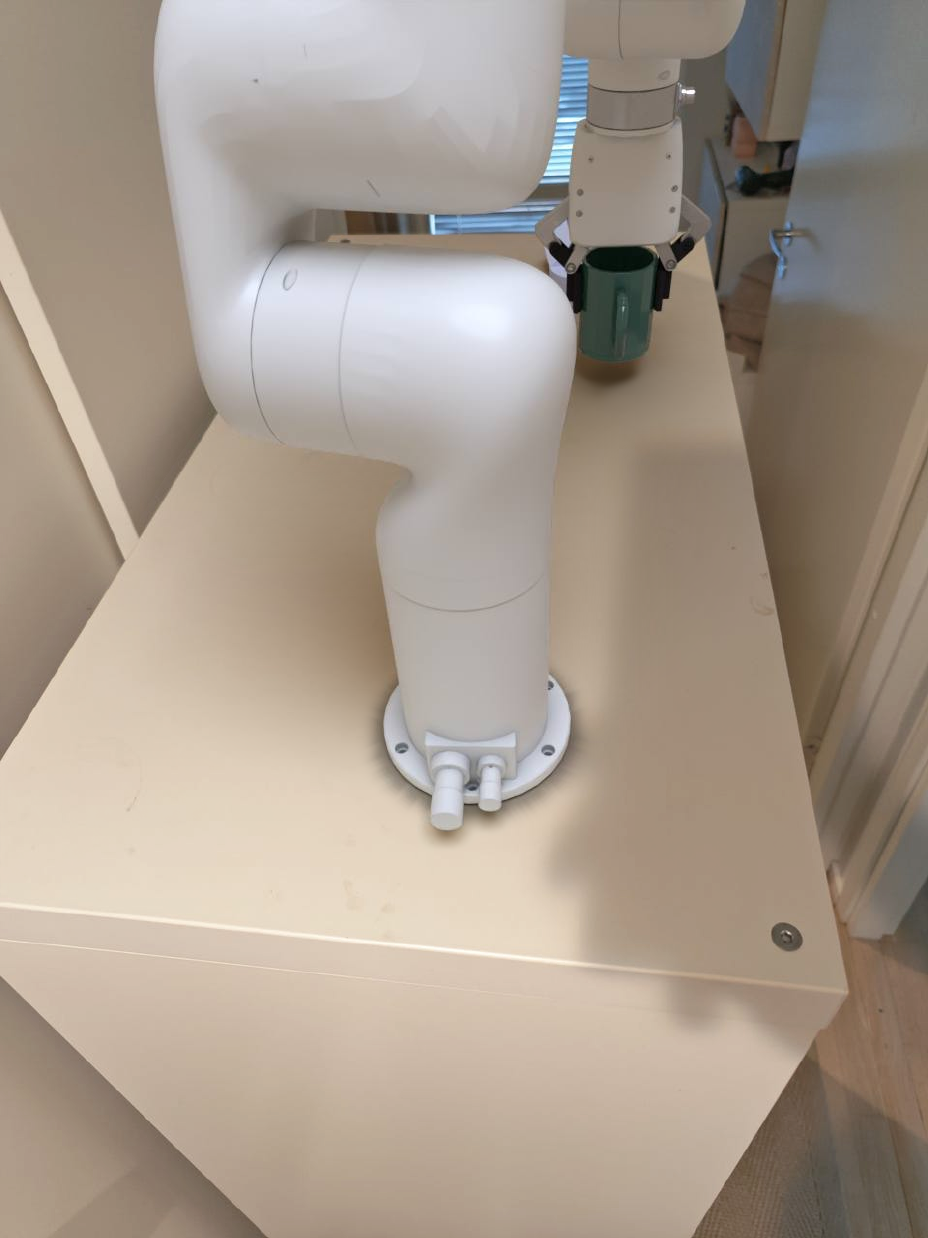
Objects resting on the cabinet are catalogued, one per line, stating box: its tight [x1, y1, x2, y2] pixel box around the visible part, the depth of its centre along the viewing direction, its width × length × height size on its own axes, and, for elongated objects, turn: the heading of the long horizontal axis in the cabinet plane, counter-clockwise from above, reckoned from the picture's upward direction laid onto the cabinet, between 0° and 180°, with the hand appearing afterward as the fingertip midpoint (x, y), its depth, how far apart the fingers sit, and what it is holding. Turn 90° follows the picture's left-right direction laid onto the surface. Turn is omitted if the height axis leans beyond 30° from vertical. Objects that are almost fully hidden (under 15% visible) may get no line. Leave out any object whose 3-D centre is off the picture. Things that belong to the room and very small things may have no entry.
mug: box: [577, 246, 659, 363], centre depth 83 cm, size 10×7×9 cm
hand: (616, 305), depth 84 cm, fingers closed on mug, 7 cm apart
